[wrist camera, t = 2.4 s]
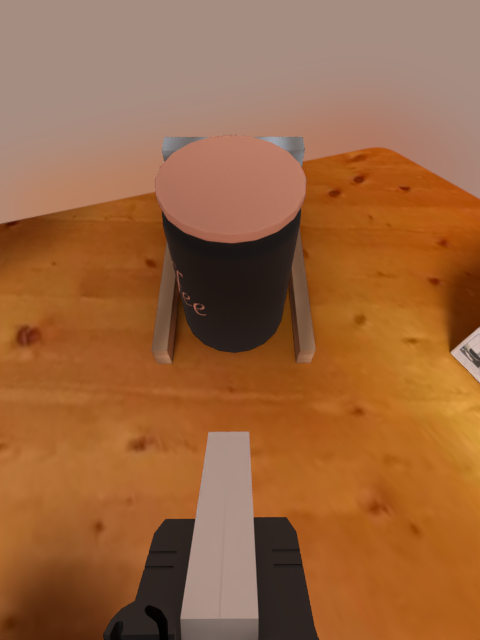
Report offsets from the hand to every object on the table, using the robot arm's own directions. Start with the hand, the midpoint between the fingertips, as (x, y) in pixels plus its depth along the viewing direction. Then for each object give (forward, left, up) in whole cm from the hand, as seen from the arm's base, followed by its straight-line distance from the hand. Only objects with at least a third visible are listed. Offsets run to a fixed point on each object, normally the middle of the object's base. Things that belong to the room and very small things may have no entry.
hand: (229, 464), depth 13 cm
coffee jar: (0, +19, -20) cm, 28 cm away
